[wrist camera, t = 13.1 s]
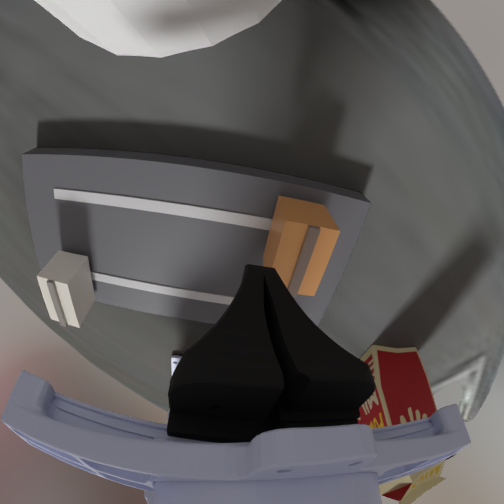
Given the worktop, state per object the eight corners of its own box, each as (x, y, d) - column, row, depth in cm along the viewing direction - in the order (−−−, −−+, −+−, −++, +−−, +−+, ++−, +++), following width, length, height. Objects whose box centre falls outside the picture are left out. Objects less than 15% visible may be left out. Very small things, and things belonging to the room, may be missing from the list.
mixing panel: (309, 319, 26) (313, 335, 24) (54, 275, 23) (44, 288, 21) (361, 192, 19) (371, 203, 17) (36, 147, 16) (21, 154, 14)
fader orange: (304, 263, 19) (315, 299, 16) (262, 256, 19) (265, 293, 16) (324, 205, 17) (341, 233, 14) (278, 195, 17) (286, 223, 14)
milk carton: (334, 386, 33) (359, 522, 16) (369, 343, 29) (417, 506, 12) (385, 385, 35) (417, 501, 18) (422, 346, 30) (473, 476, 13)
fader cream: (95, 299, 21) (78, 330, 18) (68, 292, 21) (49, 321, 18) (87, 256, 19) (65, 287, 16) (58, 250, 18) (34, 278, 15)
